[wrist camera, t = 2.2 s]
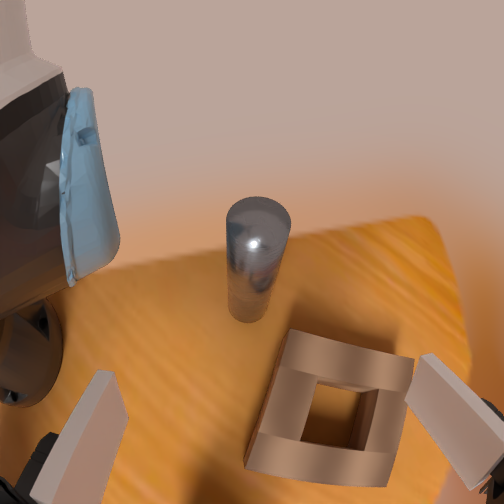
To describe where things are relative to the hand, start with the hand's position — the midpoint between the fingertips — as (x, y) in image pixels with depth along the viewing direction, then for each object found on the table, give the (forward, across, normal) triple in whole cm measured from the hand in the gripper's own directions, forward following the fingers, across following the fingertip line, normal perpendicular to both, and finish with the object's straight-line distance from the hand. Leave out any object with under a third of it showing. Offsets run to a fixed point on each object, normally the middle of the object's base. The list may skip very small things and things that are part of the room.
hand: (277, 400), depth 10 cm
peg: (+19, 0, -4) cm, 19 cm away
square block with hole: (+10, +7, -12) cm, 18 cm away
